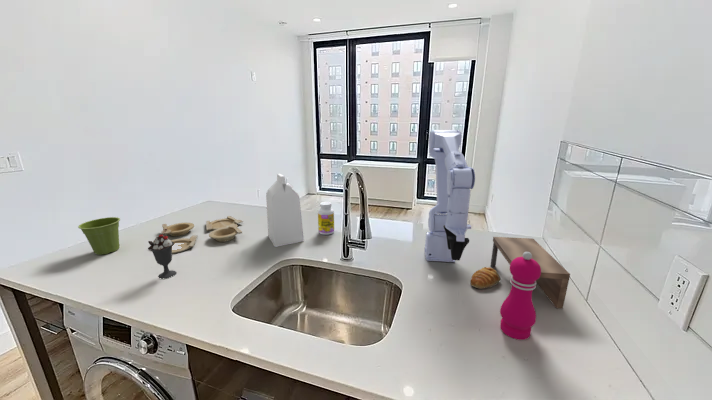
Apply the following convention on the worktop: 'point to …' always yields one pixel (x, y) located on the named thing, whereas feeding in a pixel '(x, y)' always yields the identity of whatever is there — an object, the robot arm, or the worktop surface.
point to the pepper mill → (520, 298)
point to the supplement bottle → (325, 219)
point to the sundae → (163, 254)
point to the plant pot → (102, 234)
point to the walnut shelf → (551, 271)
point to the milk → (283, 213)
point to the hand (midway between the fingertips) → (453, 254)
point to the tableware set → (221, 227)
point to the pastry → (485, 278)
